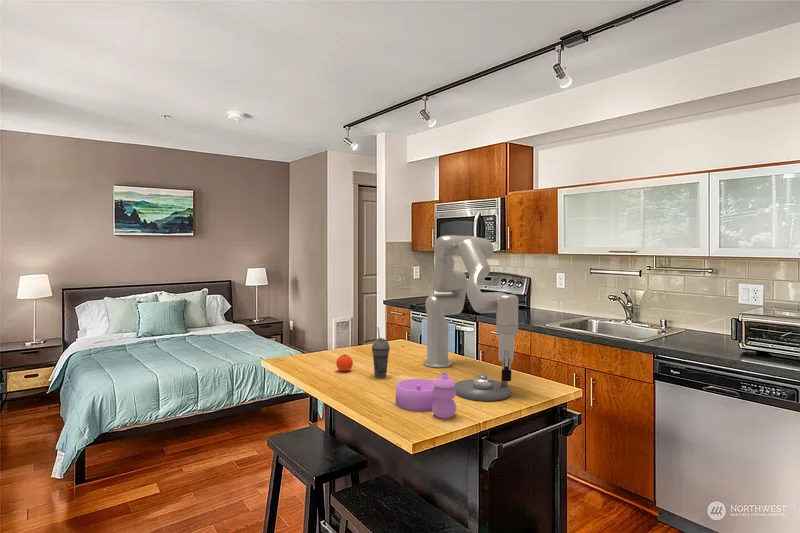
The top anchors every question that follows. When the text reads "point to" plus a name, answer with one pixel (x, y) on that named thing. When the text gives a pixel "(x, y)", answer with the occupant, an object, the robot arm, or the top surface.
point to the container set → (427, 395)
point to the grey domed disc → (483, 391)
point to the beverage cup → (380, 356)
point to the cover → (483, 382)
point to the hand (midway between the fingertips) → (506, 380)
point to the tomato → (344, 363)
